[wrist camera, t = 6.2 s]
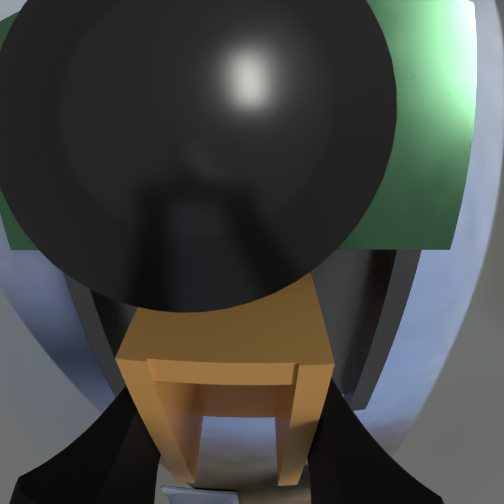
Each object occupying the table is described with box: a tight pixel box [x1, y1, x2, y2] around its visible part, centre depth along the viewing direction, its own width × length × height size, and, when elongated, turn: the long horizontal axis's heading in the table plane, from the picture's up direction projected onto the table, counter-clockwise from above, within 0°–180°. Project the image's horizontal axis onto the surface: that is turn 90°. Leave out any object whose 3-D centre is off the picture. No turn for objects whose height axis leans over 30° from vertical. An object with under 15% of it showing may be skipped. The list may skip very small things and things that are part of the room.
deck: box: [0, 0, 477, 411], centre depth 9 cm, size 18×15×7 cm
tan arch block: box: [115, 272, 335, 486], centre depth 10 cm, size 8×5×4 cm, turn 0°
